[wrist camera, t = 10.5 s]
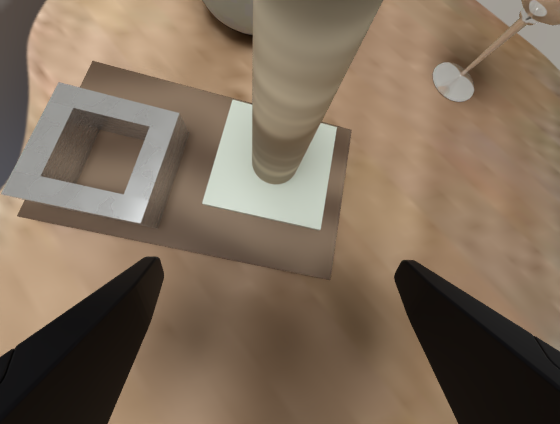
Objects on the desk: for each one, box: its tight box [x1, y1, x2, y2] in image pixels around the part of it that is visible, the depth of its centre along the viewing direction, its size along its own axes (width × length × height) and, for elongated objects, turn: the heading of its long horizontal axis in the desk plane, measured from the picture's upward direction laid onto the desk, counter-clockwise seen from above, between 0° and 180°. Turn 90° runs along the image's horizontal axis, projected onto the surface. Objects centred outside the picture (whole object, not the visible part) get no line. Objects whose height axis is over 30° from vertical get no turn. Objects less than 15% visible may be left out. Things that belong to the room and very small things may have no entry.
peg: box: [252, 0, 383, 184], centre depth 10 cm, size 5×5×14 cm
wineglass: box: [433, 0, 560, 102], centre depth 18 cm, size 7×7×12 cm
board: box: [17, 61, 352, 280], centre depth 18 cm, size 13×22×1 cm, turn 79°
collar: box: [1, 82, 189, 229], centre depth 15 cm, size 8×8×2 cm
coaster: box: [202, 100, 337, 231], centre depth 17 cm, size 9×9×1 cm
